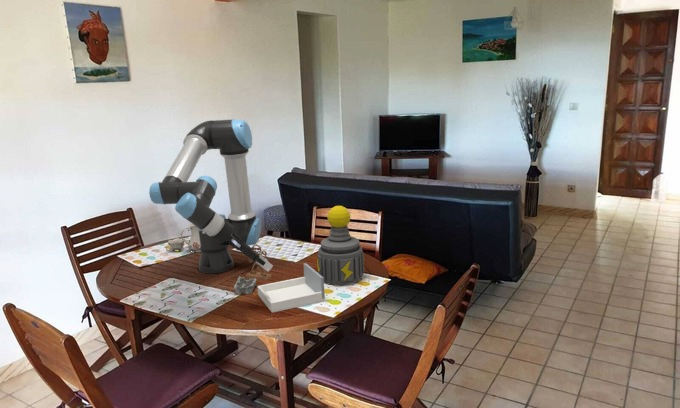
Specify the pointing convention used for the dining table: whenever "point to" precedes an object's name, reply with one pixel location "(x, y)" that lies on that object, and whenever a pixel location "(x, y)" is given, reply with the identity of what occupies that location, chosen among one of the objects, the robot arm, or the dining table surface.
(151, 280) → the dining table surface
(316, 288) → the holder tray
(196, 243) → the chinaware
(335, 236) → the decorative lamp
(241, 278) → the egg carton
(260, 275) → the brown openwork figurine
